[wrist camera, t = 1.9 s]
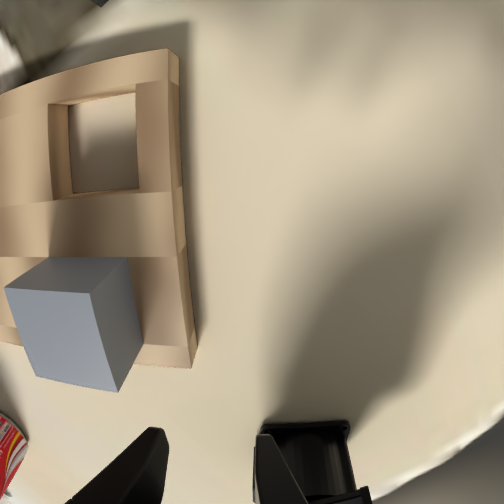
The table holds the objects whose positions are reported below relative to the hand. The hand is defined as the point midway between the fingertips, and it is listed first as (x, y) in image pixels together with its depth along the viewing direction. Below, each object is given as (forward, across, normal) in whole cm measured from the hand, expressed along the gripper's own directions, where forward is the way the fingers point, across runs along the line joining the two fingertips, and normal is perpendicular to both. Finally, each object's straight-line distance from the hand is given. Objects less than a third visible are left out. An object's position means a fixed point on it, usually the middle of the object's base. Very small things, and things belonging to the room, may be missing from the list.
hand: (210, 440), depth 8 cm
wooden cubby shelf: (+10, +14, -4) cm, 17 cm away
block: (+8, +8, 0) cm, 11 cm away
